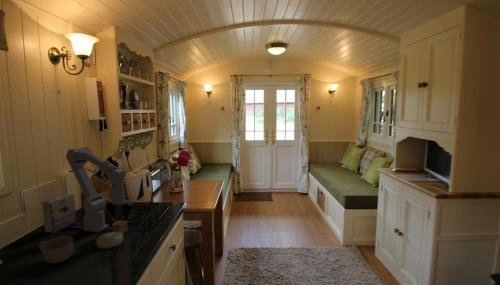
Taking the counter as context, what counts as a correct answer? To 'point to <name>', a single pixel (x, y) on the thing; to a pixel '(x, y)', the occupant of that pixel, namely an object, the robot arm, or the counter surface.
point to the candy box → (59, 213)
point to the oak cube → (120, 226)
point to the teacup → (57, 249)
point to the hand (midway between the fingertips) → (119, 217)
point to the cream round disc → (109, 240)
